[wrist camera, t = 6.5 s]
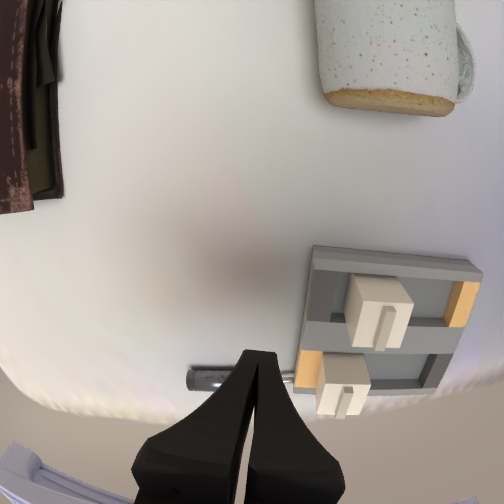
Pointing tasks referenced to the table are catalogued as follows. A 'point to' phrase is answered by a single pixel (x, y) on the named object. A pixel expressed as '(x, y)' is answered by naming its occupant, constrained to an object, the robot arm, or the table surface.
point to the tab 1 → (341, 384)
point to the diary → (29, 104)
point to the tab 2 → (376, 311)
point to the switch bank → (418, 329)
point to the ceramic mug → (393, 55)
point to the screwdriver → (212, 379)
